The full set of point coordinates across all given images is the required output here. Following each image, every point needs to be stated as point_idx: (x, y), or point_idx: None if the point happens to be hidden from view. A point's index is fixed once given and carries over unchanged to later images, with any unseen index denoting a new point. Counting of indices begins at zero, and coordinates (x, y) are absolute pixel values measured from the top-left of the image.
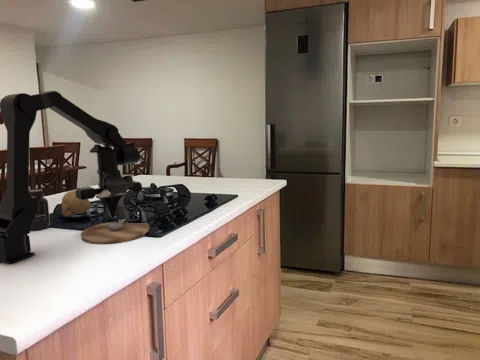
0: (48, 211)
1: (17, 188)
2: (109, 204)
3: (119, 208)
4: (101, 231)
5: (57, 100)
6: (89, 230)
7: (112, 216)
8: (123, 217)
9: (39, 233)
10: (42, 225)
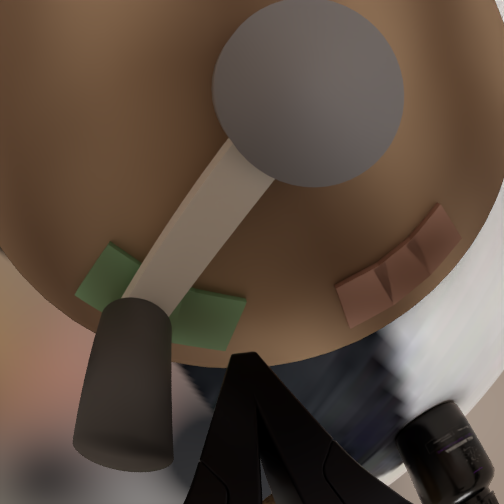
0: (428, 470)
1: None
2: (345, 490)
3: (157, 429)
4: (414, 142)
5: None
6: (451, 229)
7: (249, 359)
8: (124, 312)
9: (468, 370)
10: (442, 416)
